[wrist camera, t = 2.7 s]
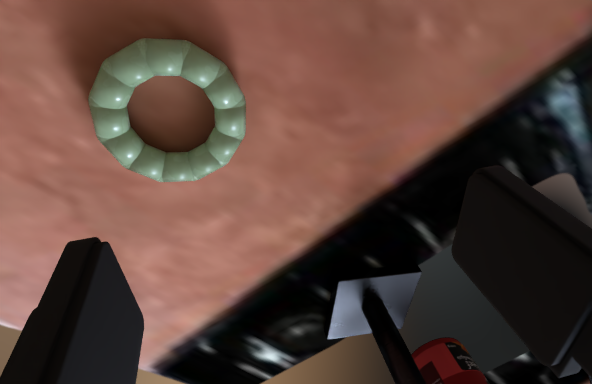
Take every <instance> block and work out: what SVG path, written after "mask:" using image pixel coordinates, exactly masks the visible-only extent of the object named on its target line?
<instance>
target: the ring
mask: <svg viewBox="0 0 592 384" xmlns="http://www.w3.org/2000/svg"><path fill="white" fill-rule="evenodd" d="M153 76H181V77H183V78H185V79H186V80H188V81H190V82H192V83H194V84H196V85H197V86H199V87H201V88H202V89H203V90H204V92H205V93H206V95H207V96H208V98H209V100H210V101H211V103H212V104H213V106H214V114H215V127H214V129H213V130H212V132H211V134H210V136H209V137H208V139H207V141H206V142H205V143H203V144H202V145H200V146H198V147H196V148H194V149H192V150H191V151H189V152H168V153H166V152H164V151H161V150H159V149H157V148H154V147H152V146H150V145H148V144H145V143H144V142H143V140H142V139H141V138H140V137H139V136H138V135H137V133H136V132H135V131H134V130H133V129H132V127H131V126H130V121H129V116H128V110H127V104H128V102H129V100H130V97H131V95H132V93H133V91H134V89H135V87H136V86H138V85H140V84H141V83H143V82H145V81H146V80H148V79H150V78H152V77H153ZM88 102H89V107H90V111H91V115H92V119H93V124H94V128H95V132H96V136H97V138H98V140H99V141H100V142H101V143H102V144H103V145H104V146H105V147H106V149H107V150H108V151H109V152H110V153H111V154H112V155H113V156H114V157H115V158H116V159H117V160H118V161H119V162H120V164H121V165H122V166H124V167H125V168H127V169H129V170H131V171H134V172H136V173H139V174H141V175H144V176H146V177H149V178H151V179H154V180H156V181H159V182H177V181H195V180H199V179H201V178H203V177H205V176H206V175H208V174H210V173H212V172H214V171H216V170H217V169H219V168H221V167H223V166H225V165H226V164H227V163H228V162H229V161H230V159H231V157H232V156H233V154H234V153H235V151H236V149H237V148H238V146H239V145H240V143H241V141H242V140H243V138H244V136H245V131H246V101H245V97H244V95H243V93H242V91H241V90H240V88H239V86H238V84H237V83H236V81H235V79H234V78H233V76H232V74H231V72H230V71H229V69H228V67H227V66H226V65H225V63H224V62H222V61H221V60H219V59H217V58H216V57H214V56H213V55H211V54H209V53H208V52H206V51H204V50H203V49H201V48H199V47H198V46H196V45H194V44H193V43H191V42H189V41H186V40H176V39H151V38H143V39H139V40H137V41H135V42H134V43H132V44H130V45H128V46H127V47H125V48H123V49H122V50H120V51H118V52H117V53H115V54H113V55H111V56H110V57H108V58H107V59H105V60H104V61H103V63H102V65H101V67H100V70H99V72H98V74H97V77H96V79H95V82H94V84H93V86H92V89H91V91H90V94H89V97H88Z"/></svg>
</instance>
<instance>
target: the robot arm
mask: <svg viewBox="0 0 592 384" xmlns="http://www.w3.org/2000/svg"><path fill="white" fill-rule="evenodd" d="M452 255H453V258H454V260H455V261H456V262H457V264H458V265H459V266H460V267H461V268H462V270H463V271H464V272H465V273H466V274H467V276H468V277H469V278H470V279H471V280H472V282H473V283H474V284H475V285H476V286H477V287H478V289H479V290H480V291H481V292H482V293H483V295H484V296H485V297H486V298H487V300H488V301H489V302H490V303H491V304H492V305H493V307H494V308H495V309H496V310H497V311H498V313H499V314H500V315H501V316H502V317H503V319H504V320H505V321H506V322H507V323H508V325H509V326H510V327H511V328H512V329H513V331H514V332H515V333H516V334H517V335H518V337H519V338H520V339H521V340H522V341H523V342H524V344H525V345H526V346H527V347H528V348H529V350H530V351H531V352H532V353H533V355H534V356H535V357H536V358H537V359H538V360H539V361H540V362H541V363H542V364H544V365H546V366H549V367H550V369H551V370H552V371H553V372H554V373H555V375H556V376H557V377H558V378H561V377H564V376H568V375H571V374H575V373H578V372H579V371H580V369H581V368H583V369H584V370H585V372H586V373H587V374H588V375H589V379H590V384H592V229H591V228H590V227H588V226H587V225H586V224H584V223H583V222H581V221H580V220H578V219H577V218H576V217H574V216H573V215H571V214H570V213H568V212H567V211H565V210H564V209H563V208H561V207H560V206H558V205H557V204H555V203H554V202H553V201H551V200H550V199H548V198H547V197H545V196H544V195H543V194H541V193H540V192H538V191H537V190H535V189H534V188H532V187H531V186H530V185H528V184H527V183H525V182H524V181H522V180H521V179H520V178H518V177H517V176H515V175H514V174H512V173H511V172H510V171H508V170H507V169H505V168H504V167H502V166H491V167H486V168H480V169H477V170H476V171H475V172H474V174H473V175H472V176H471V177H470V178H469V180H468V184H467V188H466V192H465V196H464V200H463V204H462V208H461V212H460V217H459V221H458V225H457V229H456V233H455V237H454V241H453V245H452ZM143 331H144V319H143V315H142V312H141V310H140V308H139V306H138V304H137V302H136V300H135V297H134V295H133V293H132V291H131V289H130V287H129V285H128V282H127V280H126V278H125V276H124V274H123V272H122V270H121V267H120V265H119V263H118V261H117V259H116V257H115V255H114V252H113V250H112V248H111V246H110V244H109V243H108V242H101V241H100V239H98V238H97V237H93V238H87V239H82V240H76V241H70V242H69V243H67V245H66V246H65V248H64V251H63V253H62V255H61V257H60V259H59V261H58V264H57V266H56V268H55V270H54V272H53V274H52V277H51V279H50V281H49V283H48V285H47V287H46V289H45V292H44V294H43V296H42V298H41V300H40V302H39V305H38V307H37V308H35V309H34V310H33V311H32V313H31V314H30V316H29V318H28V320H27V322H26V324H25V326H24V328H23V330H22V332H21V335H20V337H19V339H18V341H17V343H16V345H15V347H14V349H13V351H12V354H11V356H10V358H9V360H8V362H7V364H6V366H5V368H4V370H3V372H2V375H1V377H0V384H136V377H137V371H138V364H139V358H140V351H141V344H142V338H143Z"/></svg>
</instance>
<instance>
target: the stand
mask: <svg viewBox="0 0 592 384" xmlns="http://www.w3.org/2000/svg"><path fill="white" fill-rule="evenodd" d="M421 273H422V271H421V270H420V268H419V267H418V265H417V264H411V265H402V266H393V267H384V268H374V269H365V270H356V271H347V272H337V273H335V275H334V281H333V286H332V291H331V297H330V302H329V307H328V313H327V318H326V323H325V329H324V332H325V335H326V338H327V340H328V339H335V338H341V337H348V336H354V335H361V334H367V333H373V336H374V338H375V340H376V342H377V344H378V346H379V349H380V351H381V353H382V355H383V358H384V360H385V362H386V364H387V366H388V368H389V371H390V373H391V375H392V377H393V380H394V382H395V384H426V382H425V380H424V378H423V376H422V374H421V373H420V371H419V369H418V367H417V365H416V363H415V361H414V359H413V357H412V356H411V354H410V352H409V350H408V348H407V346H406V344H405V342H404V340H403V339H402V337H401V335H400V333H399V331H398V329H401V328H402V326H403V322H404V320H405V317H406V315H407V312H408V309H409V306H410V304H411V301H412V298H413V295H414V292H415V290H416V287H417V284H418V282H419V279H420V276H421Z"/></svg>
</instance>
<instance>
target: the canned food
mask: <svg viewBox="0 0 592 384" xmlns="http://www.w3.org/2000/svg"><path fill="white" fill-rule="evenodd" d="M411 356H412V357H413V359H414V361H415V363H416V365H417V367H418V369H419V371H420V373H421V374H422V376H423V378H424V380H425V382H426V384H489V382H488V381H487V379H486V378H485V376H484V375H483V373H482V372H481V371H480V369H479V368H478V366H477V365H476V363H475V362H474V360H473V359H472V357H471V356H470V355H469V353H468V351H467V350H466V349H465V347H464V346H463V345H462V344H461V343H460V342H459V341H458V340H456V339H454V338H439V339H435V340H432V341H430V342H428V343H426V344H424V345H422V346H421V347H419V348H418V349H417V350H415V351H414V353H412V355H411Z"/></svg>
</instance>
